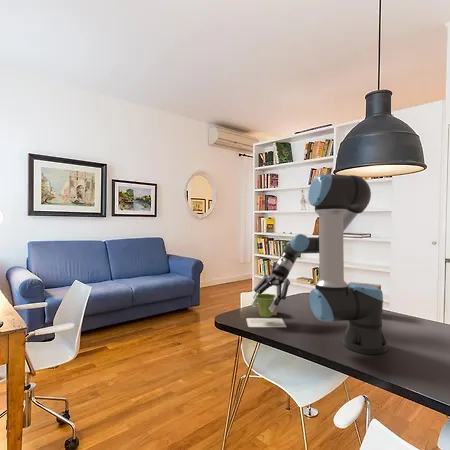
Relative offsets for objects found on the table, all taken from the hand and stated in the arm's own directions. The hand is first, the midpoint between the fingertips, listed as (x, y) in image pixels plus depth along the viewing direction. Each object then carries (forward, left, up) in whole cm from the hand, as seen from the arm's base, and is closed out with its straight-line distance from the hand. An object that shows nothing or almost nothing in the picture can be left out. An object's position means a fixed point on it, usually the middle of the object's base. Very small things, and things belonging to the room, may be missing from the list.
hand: (261, 308), depth 146 cm
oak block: (+16, -6, -7) cm, 19 cm away
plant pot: (+2, -2, -4) cm, 5 cm away
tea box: (+18, -54, -8) cm, 58 cm away
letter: (+2, -2, -7) cm, 8 cm away
